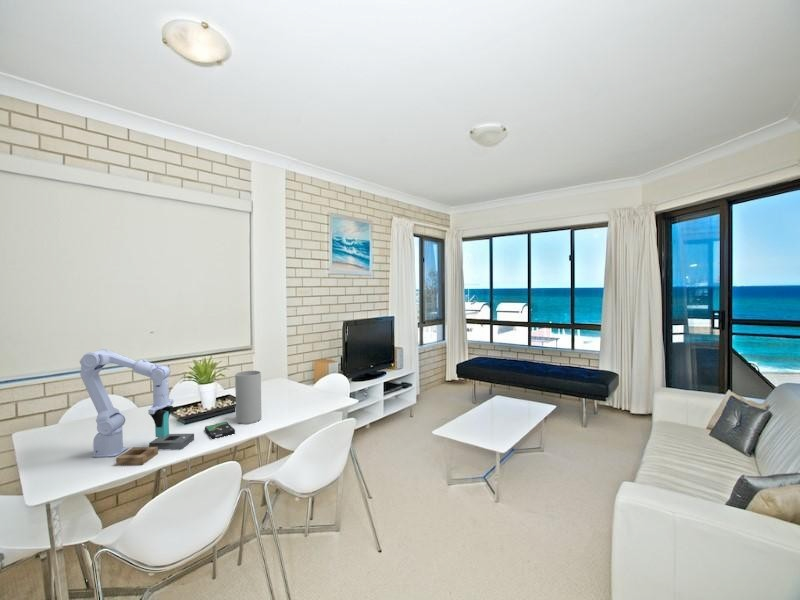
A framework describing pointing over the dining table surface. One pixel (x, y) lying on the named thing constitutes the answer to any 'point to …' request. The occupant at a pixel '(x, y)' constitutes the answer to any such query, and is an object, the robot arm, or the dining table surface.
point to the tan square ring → (137, 456)
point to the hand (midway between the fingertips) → (161, 425)
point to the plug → (163, 426)
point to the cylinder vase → (248, 396)
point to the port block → (172, 441)
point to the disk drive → (219, 430)
